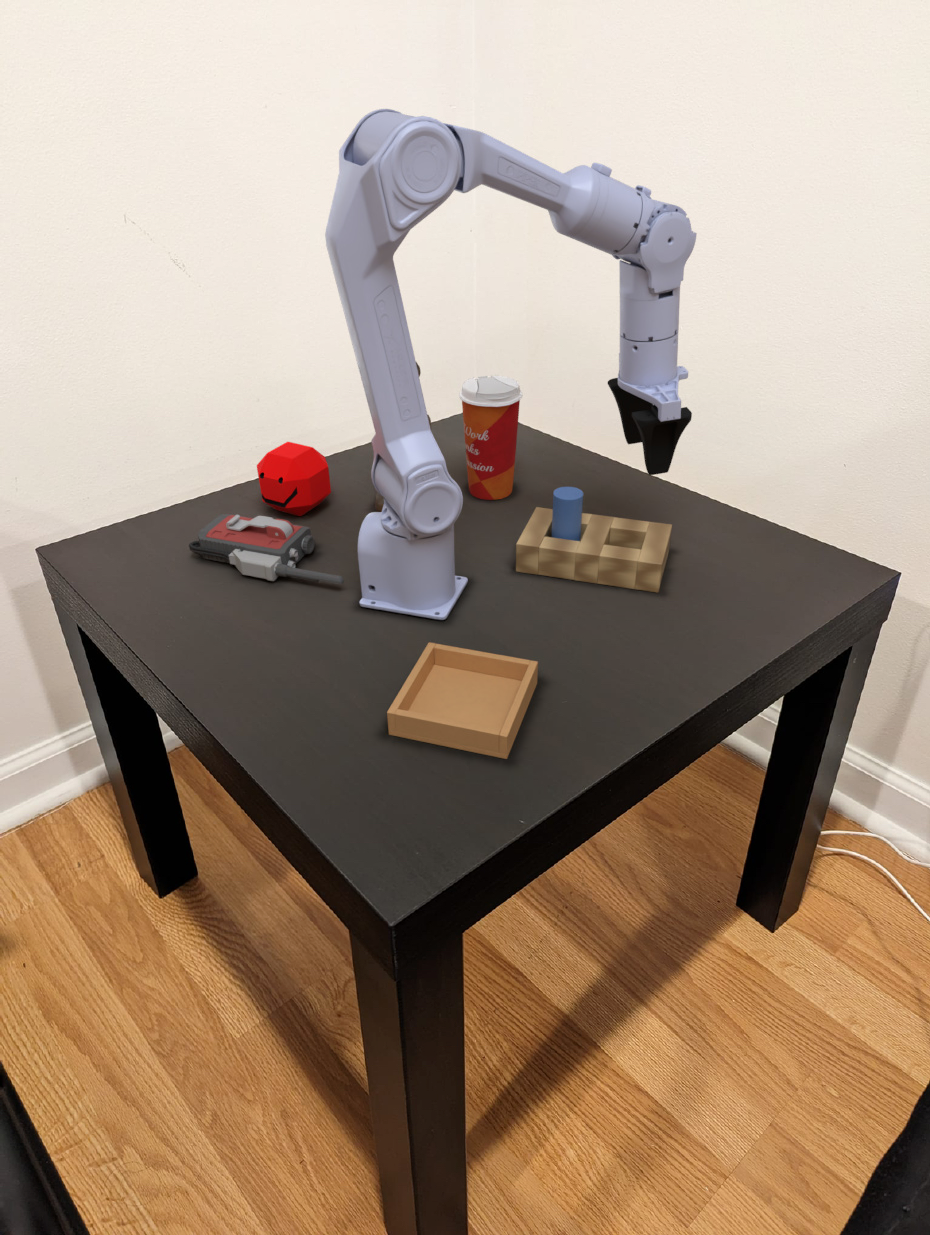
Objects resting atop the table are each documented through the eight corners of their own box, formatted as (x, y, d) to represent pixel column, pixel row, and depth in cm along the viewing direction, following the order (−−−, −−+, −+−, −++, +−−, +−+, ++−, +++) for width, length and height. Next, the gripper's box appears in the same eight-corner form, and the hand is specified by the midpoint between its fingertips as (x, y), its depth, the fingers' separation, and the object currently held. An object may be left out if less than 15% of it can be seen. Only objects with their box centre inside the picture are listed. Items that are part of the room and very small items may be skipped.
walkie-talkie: (179, 567, 97) (339, 597, 92) (170, 532, 95) (335, 561, 89) (222, 531, 104) (374, 557, 98) (215, 497, 102) (371, 522, 96)
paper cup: (453, 482, 114) (450, 377, 106) (508, 474, 116) (510, 370, 108) (471, 508, 108) (470, 399, 100) (529, 499, 110) (532, 391, 102)
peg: (547, 562, 97) (550, 497, 92) (554, 548, 99) (557, 484, 95) (575, 566, 96) (580, 501, 91) (581, 552, 98) (586, 488, 94)
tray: (388, 734, 74) (386, 712, 72) (429, 663, 82) (428, 641, 80) (506, 759, 71) (507, 736, 70) (537, 683, 79) (538, 661, 78)
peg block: (515, 571, 95) (516, 543, 93) (535, 533, 102) (536, 506, 100) (658, 593, 91) (662, 564, 89) (668, 551, 98) (672, 524, 96)
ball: (252, 513, 108) (242, 455, 104) (293, 487, 114) (285, 432, 109) (303, 527, 104) (295, 468, 100) (342, 500, 110) (336, 444, 106)
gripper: (715, 350, 80) (706, 480, 88) (664, 304, 92) (661, 423, 100) (640, 361, 80) (639, 492, 88) (599, 314, 92) (601, 433, 100)
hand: (646, 456), depth 94 cm, fingers open, 7 cm apart
